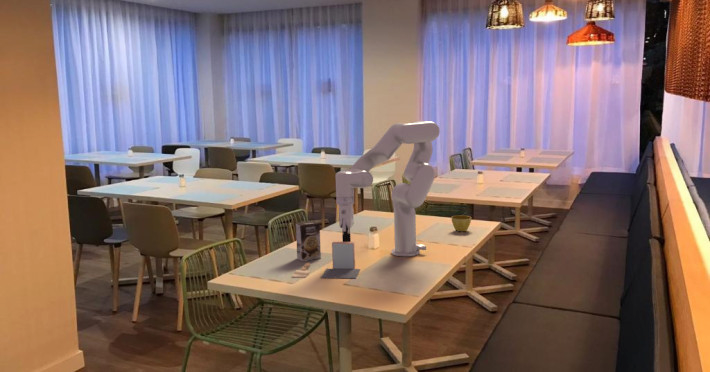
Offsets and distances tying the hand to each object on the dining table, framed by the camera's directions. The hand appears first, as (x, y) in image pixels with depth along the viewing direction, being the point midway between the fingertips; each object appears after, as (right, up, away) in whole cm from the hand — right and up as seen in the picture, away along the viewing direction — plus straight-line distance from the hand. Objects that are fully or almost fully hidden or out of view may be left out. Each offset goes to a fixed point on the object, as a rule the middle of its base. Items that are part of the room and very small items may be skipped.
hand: (346, 242), depth 256 cm
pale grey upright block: (-1, -10, -7) cm, 12 cm away
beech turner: (-18, -11, -11) cm, 23 cm away
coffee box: (-17, -8, +9) cm, 21 cm away
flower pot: (+58, +1, +52) cm, 78 cm away
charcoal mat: (-2, -11, -15) cm, 19 cm away
